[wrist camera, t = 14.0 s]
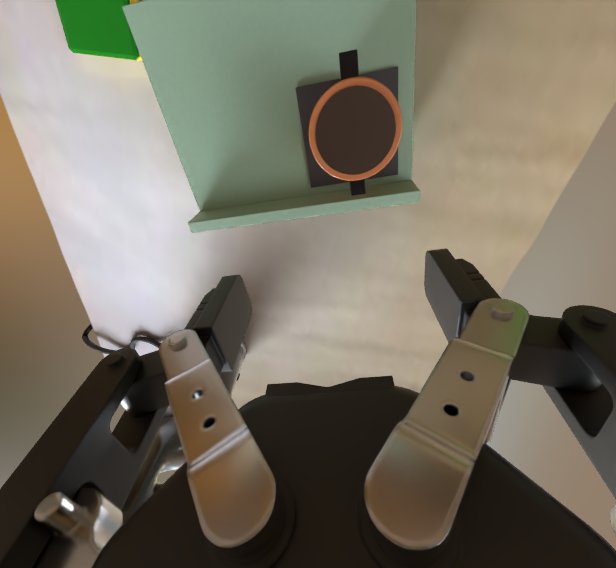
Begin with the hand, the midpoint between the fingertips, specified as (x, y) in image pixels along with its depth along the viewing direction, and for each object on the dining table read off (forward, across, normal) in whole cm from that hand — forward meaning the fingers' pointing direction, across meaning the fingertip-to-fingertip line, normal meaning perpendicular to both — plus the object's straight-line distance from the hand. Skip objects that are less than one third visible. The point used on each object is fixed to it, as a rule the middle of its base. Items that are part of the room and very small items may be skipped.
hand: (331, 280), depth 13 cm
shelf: (+28, +3, -6) cm, 29 cm away
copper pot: (+16, -2, -5) cm, 17 cm away
